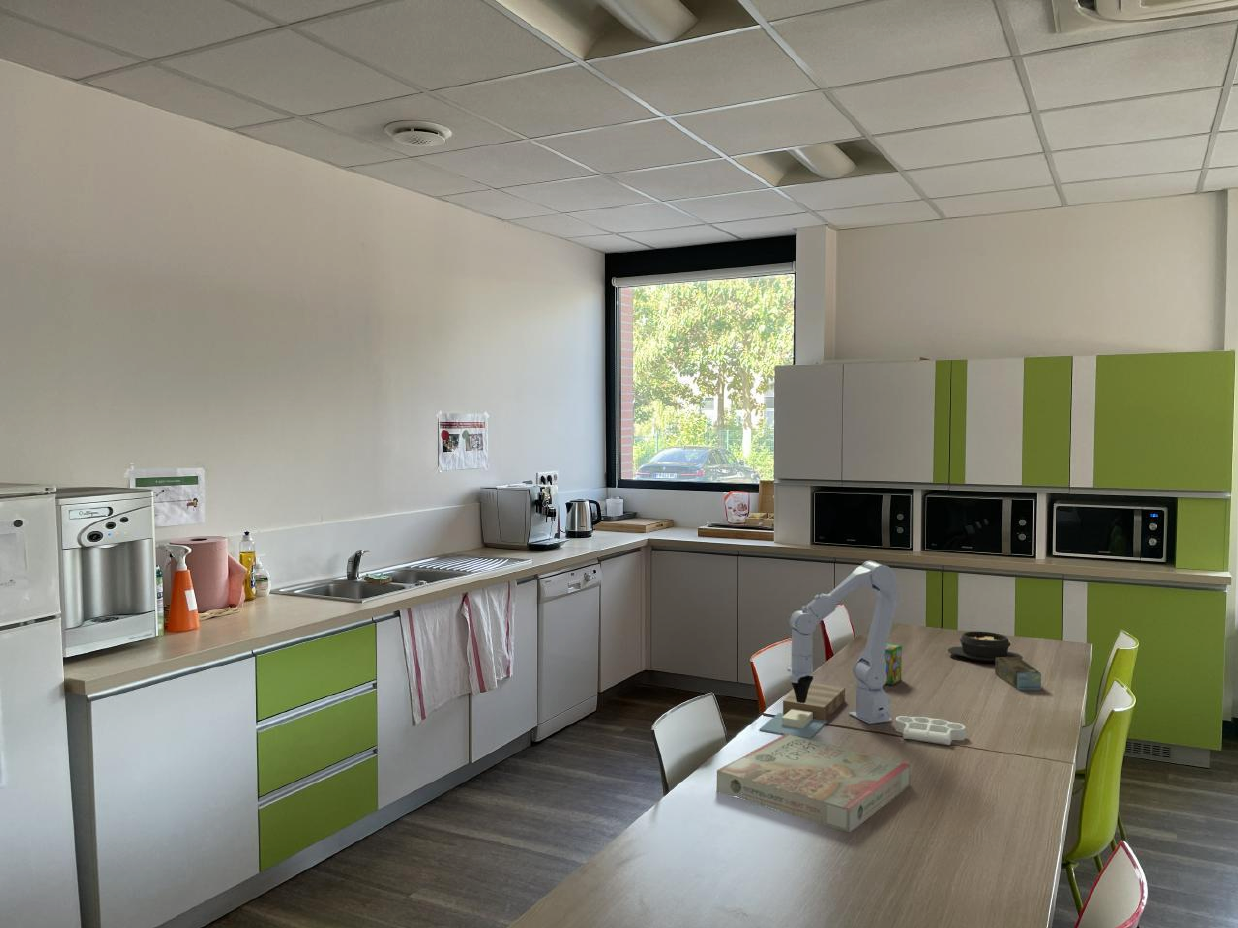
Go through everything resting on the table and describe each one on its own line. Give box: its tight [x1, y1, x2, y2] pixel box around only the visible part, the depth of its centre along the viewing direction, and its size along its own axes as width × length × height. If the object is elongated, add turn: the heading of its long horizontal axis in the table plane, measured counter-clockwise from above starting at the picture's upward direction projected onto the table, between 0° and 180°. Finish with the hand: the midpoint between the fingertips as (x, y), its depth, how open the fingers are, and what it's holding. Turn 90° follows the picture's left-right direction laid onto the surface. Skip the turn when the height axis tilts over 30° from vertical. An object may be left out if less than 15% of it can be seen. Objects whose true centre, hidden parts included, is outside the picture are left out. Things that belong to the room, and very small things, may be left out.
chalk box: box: [884, 642, 903, 686], centre depth 294 cm, size 9×9×15 cm
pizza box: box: [716, 734, 911, 833], centre depth 206 cm, size 32×5×32 cm
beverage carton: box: [994, 657, 1042, 691], centre depth 294 cm, size 8×19×7 cm, turn 177°
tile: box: [782, 709, 813, 728], centre depth 251 cm, size 9×6×2 cm, turn 151°
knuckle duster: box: [894, 715, 967, 746], centre depth 242 cm, size 3×18×15 cm
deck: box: [782, 682, 846, 721], centre depth 265 cm, size 22×12×4 cm, turn 151°
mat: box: [758, 712, 828, 740], centre depth 248 cm, size 16×14×1 cm
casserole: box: [947, 631, 1024, 664], centre depth 323 cm, size 25×19×8 cm
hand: (801, 702), depth 254 cm, fingers closed
